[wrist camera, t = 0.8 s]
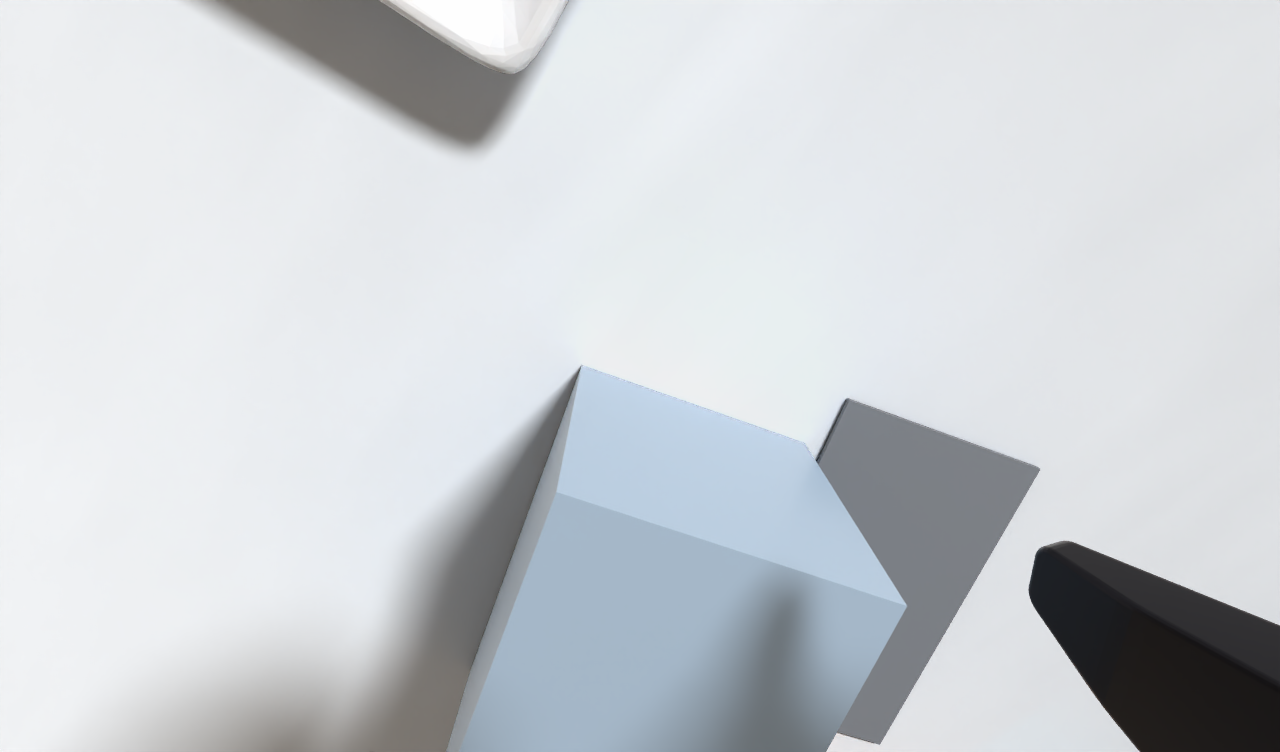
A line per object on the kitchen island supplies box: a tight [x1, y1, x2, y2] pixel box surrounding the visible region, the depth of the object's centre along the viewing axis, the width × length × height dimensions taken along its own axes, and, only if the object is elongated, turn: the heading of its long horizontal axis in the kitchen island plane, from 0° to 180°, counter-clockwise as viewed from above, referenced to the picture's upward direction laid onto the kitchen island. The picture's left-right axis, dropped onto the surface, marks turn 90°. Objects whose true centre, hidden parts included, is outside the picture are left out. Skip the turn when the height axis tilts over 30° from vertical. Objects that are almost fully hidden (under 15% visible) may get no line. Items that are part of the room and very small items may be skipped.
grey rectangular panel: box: [817, 399, 1040, 745], centre depth 25 cm, size 7×12×1 cm, turn 159°
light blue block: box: [446, 366, 907, 752], centre depth 20 cm, size 8×12×9 cm, turn 159°
